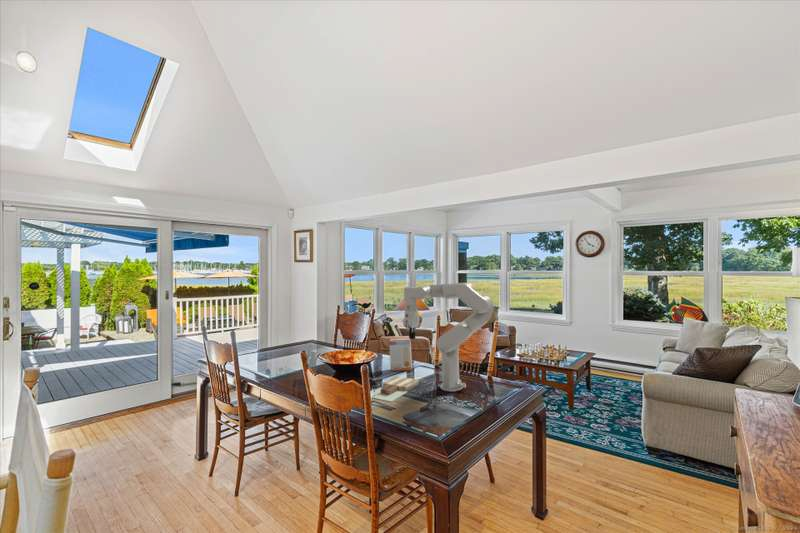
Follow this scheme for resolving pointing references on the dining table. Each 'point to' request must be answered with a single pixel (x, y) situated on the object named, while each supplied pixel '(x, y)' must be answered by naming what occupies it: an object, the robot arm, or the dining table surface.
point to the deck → (402, 383)
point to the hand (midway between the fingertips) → (412, 338)
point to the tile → (389, 389)
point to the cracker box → (400, 354)
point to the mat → (387, 397)
